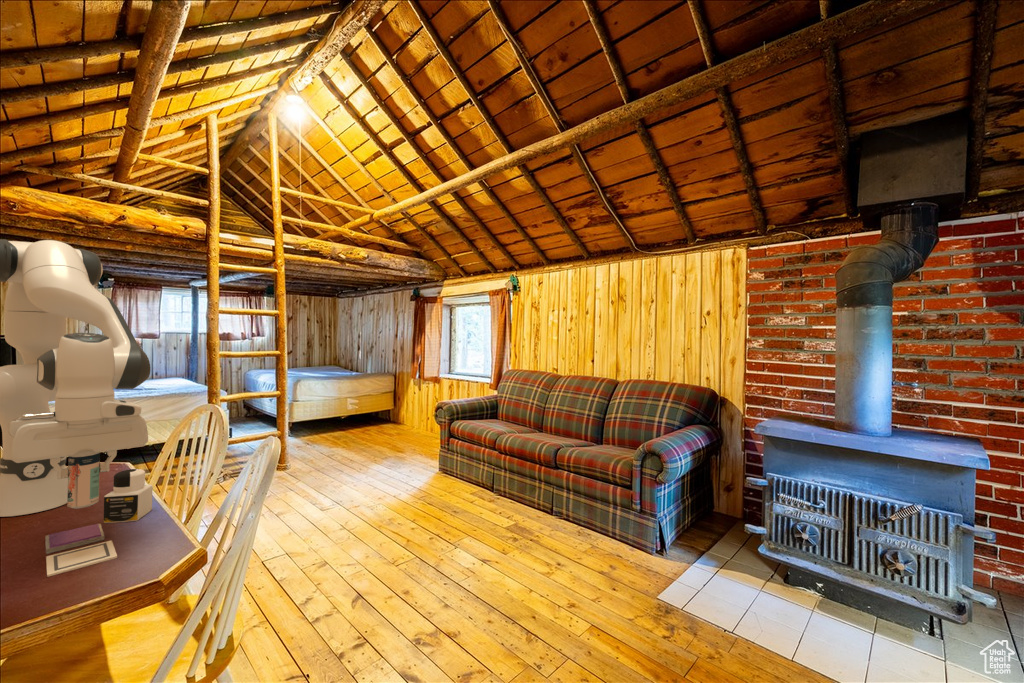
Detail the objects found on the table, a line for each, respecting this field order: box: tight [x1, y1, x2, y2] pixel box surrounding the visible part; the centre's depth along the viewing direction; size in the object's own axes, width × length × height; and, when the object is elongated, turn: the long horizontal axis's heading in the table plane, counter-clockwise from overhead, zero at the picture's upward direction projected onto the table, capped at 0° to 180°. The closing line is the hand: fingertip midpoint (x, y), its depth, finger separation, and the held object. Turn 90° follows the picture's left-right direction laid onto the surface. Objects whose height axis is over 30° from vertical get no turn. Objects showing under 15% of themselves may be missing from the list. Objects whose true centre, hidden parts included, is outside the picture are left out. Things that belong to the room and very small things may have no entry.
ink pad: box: [45, 523, 105, 555], centre depth 96 cm, size 9×9×1 cm
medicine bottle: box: [103, 468, 154, 524], centre depth 109 cm, size 7×7×12 cm
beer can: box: [66, 450, 101, 510], centre depth 88 cm, size 5×5×12 cm
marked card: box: [45, 540, 118, 578], centre depth 89 cm, size 10×10×1 cm
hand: (84, 474), depth 89 cm, fingers closed on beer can, 5 cm apart
